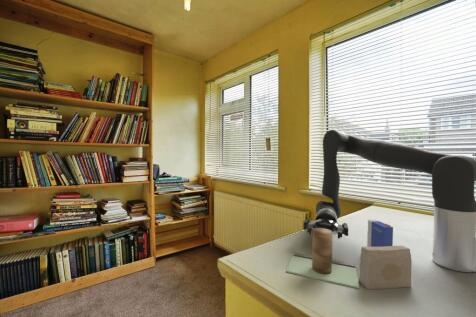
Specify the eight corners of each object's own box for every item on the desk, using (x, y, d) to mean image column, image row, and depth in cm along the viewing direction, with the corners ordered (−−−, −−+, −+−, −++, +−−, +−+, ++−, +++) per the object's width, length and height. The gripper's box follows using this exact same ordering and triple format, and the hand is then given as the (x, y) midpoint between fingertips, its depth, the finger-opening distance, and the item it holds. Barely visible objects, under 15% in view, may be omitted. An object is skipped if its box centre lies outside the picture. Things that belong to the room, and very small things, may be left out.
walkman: (392, 265, 67) (393, 226, 67) (383, 266, 67) (384, 226, 67) (374, 253, 75) (375, 218, 75) (366, 254, 75) (367, 218, 74)
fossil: (399, 279, 60) (401, 244, 60) (411, 287, 56) (412, 249, 56) (358, 282, 58) (359, 245, 58) (367, 290, 55) (368, 251, 55)
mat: (356, 269, 64) (356, 268, 64) (358, 288, 55) (358, 287, 55) (292, 257, 72) (292, 255, 72) (286, 272, 63) (286, 270, 63)
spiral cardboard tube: (331, 267, 65) (332, 229, 65) (331, 276, 60) (332, 235, 60) (313, 263, 67) (313, 227, 67) (311, 271, 62) (311, 232, 62)
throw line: (355, 265, 67) (355, 264, 67) (355, 267, 66) (355, 266, 66) (294, 253, 74) (294, 252, 74) (293, 255, 73) (293, 254, 73)
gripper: (307, 207, 89) (301, 218, 74) (347, 212, 83) (349, 224, 68) (307, 226, 89) (300, 241, 74) (346, 232, 83) (348, 249, 68)
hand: (324, 233), depth 71 cm, fingers open, 8 cm apart
